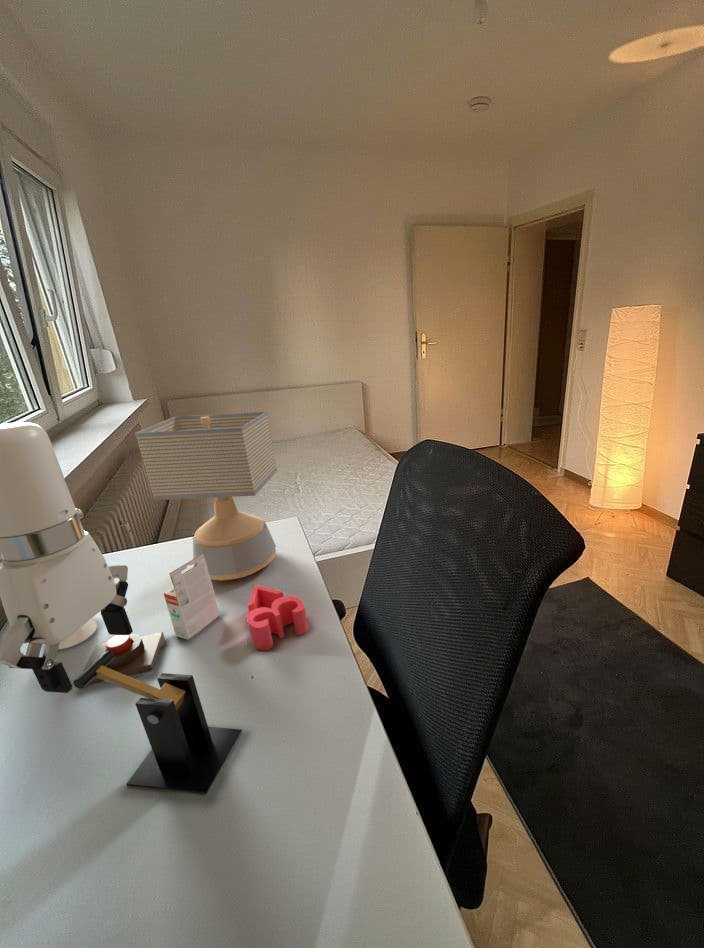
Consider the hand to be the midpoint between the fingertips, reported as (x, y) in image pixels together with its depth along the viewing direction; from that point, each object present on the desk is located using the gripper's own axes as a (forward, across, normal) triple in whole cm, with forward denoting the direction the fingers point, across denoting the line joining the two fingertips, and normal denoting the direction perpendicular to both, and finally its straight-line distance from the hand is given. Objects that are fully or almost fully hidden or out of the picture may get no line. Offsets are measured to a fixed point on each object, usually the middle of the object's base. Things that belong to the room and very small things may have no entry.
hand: (92, 659), depth 55 cm
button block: (+17, -16, -14) cm, 27 cm away
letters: (+17, -29, +8) cm, 35 cm away
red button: (+13, -16, -14) cm, 25 cm away
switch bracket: (+17, 0, +9) cm, 19 cm away
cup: (+17, -23, -31) cm, 42 cm away
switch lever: (+5, 0, +4) cm, 6 cm away
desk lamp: (+17, -50, -10) cm, 53 cm away
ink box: (+17, -27, -7) cm, 33 cm away
